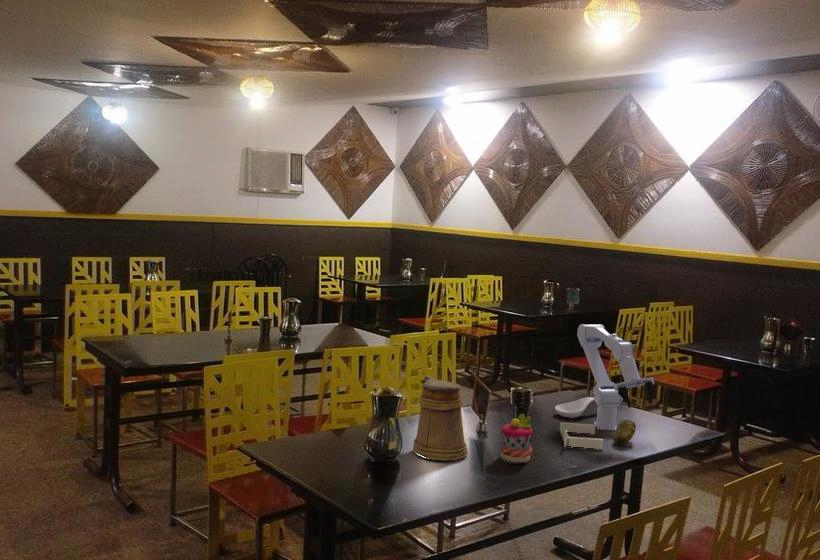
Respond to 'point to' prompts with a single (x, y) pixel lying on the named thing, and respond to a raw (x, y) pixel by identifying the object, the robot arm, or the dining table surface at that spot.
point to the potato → (624, 432)
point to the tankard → (440, 421)
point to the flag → (565, 438)
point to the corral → (577, 440)
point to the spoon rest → (573, 407)
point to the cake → (517, 440)
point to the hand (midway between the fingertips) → (640, 404)
